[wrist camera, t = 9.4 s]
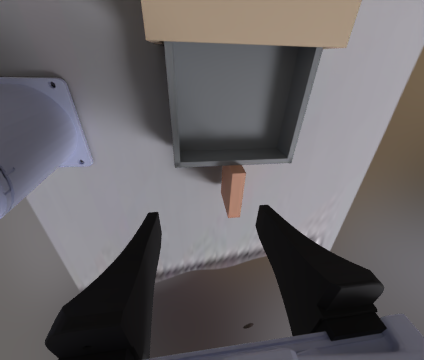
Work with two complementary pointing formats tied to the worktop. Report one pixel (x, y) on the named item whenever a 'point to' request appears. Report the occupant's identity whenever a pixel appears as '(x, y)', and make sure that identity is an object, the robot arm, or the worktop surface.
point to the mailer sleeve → (251, 22)
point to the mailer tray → (237, 106)
